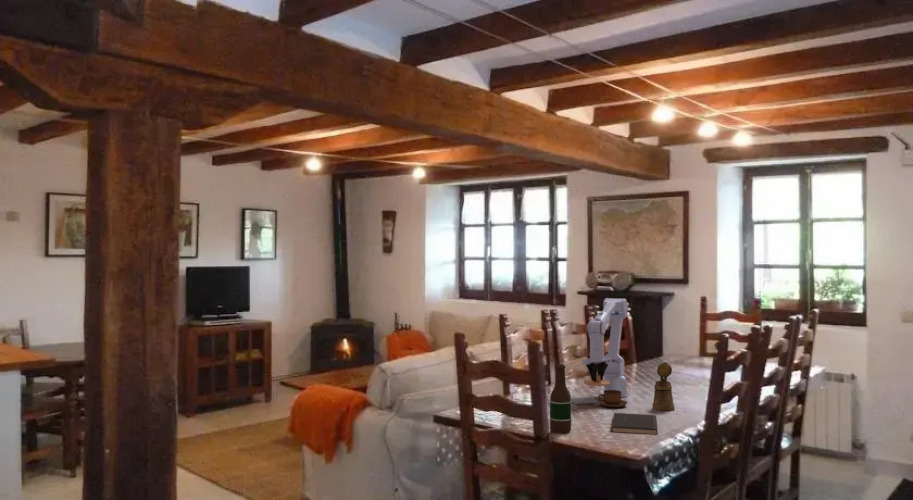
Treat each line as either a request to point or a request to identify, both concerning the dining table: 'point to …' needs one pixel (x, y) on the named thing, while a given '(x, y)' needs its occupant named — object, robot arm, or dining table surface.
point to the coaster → (583, 401)
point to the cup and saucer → (611, 399)
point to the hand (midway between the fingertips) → (597, 380)
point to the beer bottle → (560, 404)
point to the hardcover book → (634, 423)
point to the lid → (597, 382)
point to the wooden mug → (663, 389)
